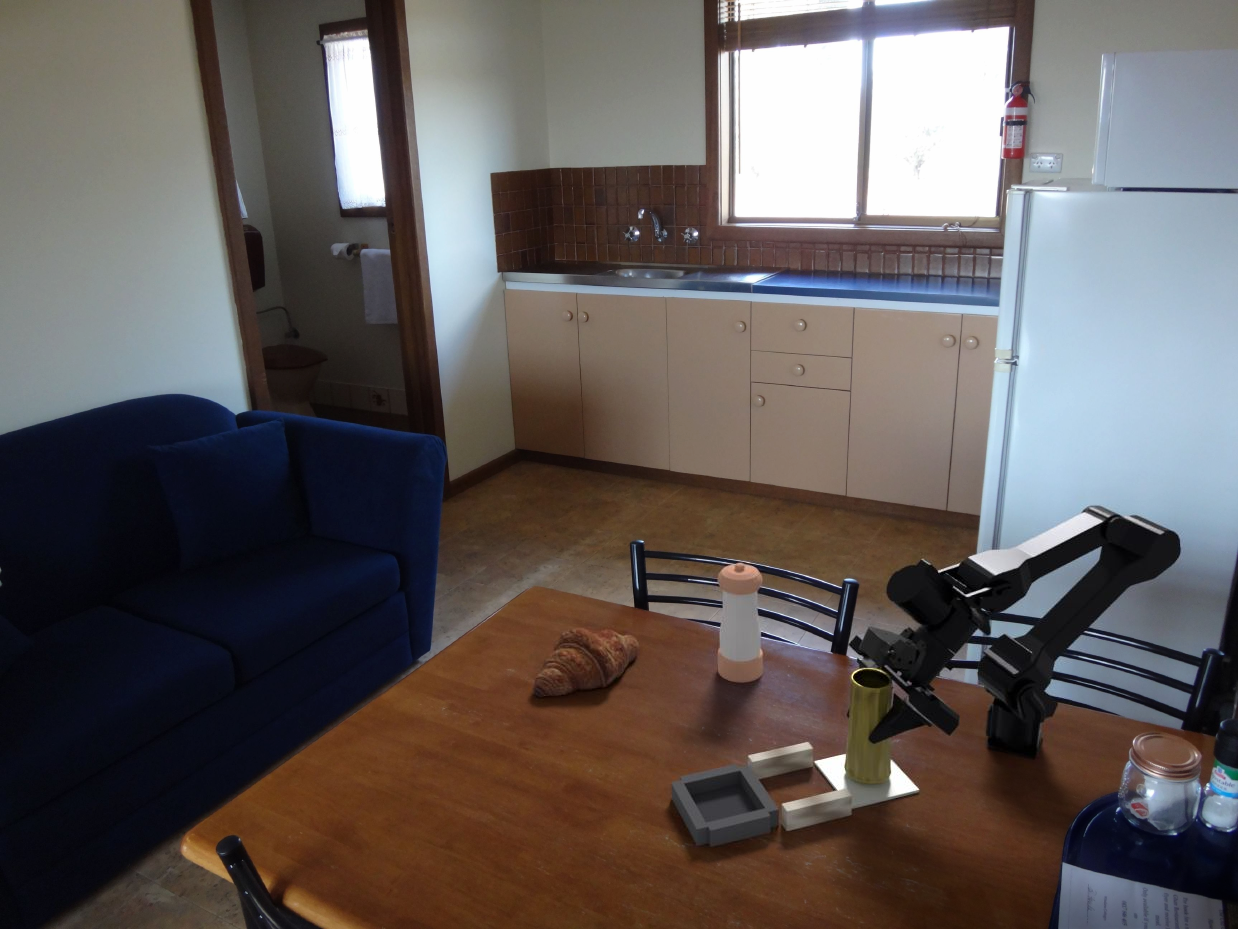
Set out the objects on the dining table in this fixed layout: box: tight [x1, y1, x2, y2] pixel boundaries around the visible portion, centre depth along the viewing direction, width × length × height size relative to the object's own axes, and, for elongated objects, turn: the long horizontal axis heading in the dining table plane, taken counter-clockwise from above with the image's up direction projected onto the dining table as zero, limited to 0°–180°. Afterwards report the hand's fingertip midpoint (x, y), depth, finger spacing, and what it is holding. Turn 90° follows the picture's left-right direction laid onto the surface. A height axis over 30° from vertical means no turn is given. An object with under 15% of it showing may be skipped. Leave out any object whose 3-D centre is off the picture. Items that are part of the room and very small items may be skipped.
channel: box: [747, 741, 853, 832], centre depth 125 cm, size 9×12×3 cm
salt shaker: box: [717, 562, 764, 683], centre depth 152 cm, size 7×7×19 cm
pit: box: [670, 763, 780, 848], centre depth 122 cm, size 11×11×2 cm
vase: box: [844, 668, 893, 784], centre depth 125 cm, size 6×6×14 cm
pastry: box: [532, 627, 640, 698], centre depth 155 cm, size 17×15×8 cm
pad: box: [813, 753, 920, 810], centre depth 128 cm, size 10×10×1 cm
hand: (859, 729), depth 125 cm, fingers closed on vase, 5 cm apart
